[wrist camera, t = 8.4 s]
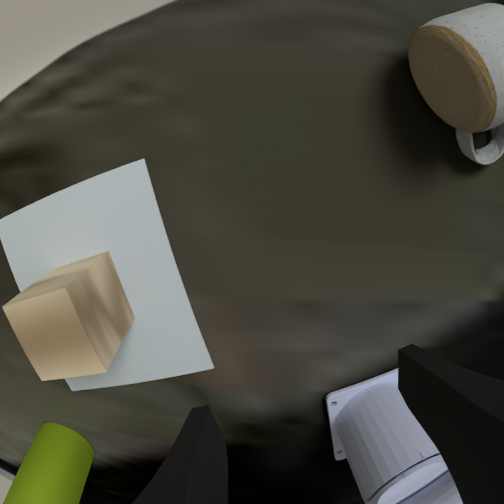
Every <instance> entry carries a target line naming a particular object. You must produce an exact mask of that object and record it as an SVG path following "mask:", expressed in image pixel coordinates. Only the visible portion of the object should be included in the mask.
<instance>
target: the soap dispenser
mask: <svg viewBox="0 0 504 504" xmlns="http://www.w3.org/2000/svg"><path fill="white" fill-rule="evenodd" d="M93 458H94V450H93V448H92V446H91V445H90V444H89V442H88V441H87V440H86V439H85V438H84V437H82V436H81V435H80V434H78V433H77V432H75V431H74V430H72V429H70V428H68V427H66V426H64V425H61V424H58V423H51V422H50V423H45V424H43V425H42V426H41V428H40V430H39V432H38V433H37V435H36V437H35V439H34V441H33V443H32V445H31V447H30V449H29V450H28V452H27V454H26V456H25V458H24V460H23V462H22V464H21V466H20V468H19V470H18V472H17V475H16V477H15V479H14V481H13V483H12V485H11V487H10V489H9V492H8V494H7V496H6V498H5V501H4V503H3V504H79V501H80V498H81V495H82V492H83V488H84V485H85V482H86V479H87V476H88V473H89V470H90V467H91V464H92V461H93Z"/></svg>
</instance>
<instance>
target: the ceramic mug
mask: <svg viewBox="0 0 504 504" xmlns="http://www.w3.org/2000/svg"><path fill="white" fill-rule="evenodd" d="M408 57H409V65H410V70H411V73H412V76H413V79H414V81H415V84H416V86H417V88H418V90H419V92H420V93H421V95H422V96H423V98H424V100H425V101H426V103H427V104H428V105H429V107H430V108H431V109H432V110H433V111H434V112H435V113H436V114H437V115H438V116H439V117H440V118H441V119H442V120H443V121H444V122H446V123H447V124H449V125H451V126H452V127H454V128H456V139H457V141H458V144H459V147H460V149H461V151H462V153H463V154H464V155H465V156H466V157H468V158H470V159H471V160H473V161H475V162H476V163H478V164H481V165H487V164H491V163H493V162H494V161H496V160H497V159H498V158H499V157H500V156H501V155H502V154H503V153H504V6H503V5H499V4H495V3H486V4H482V5H479V6H475V7H471V8H467V9H464V10H461V11H458V12H455V13H452V14H448V15H445V16H441V17H438V18H436V19H433V20H431V21H429V22H428V23H426V24H425V25H423V26H421V27H420V28H419V29H418V30H417V31H416V32H415V33H414V34H413V36H412V38H411V40H410V43H409V49H408ZM494 127H496V130H495V133H494V135H493V138H492V140H491V141H490V142H489V144H488V145H486V146H484V147H482V148H480V149H476V150H474V146H473V136H472V133H474V132H482V131H486V130H489V129H492V128H494Z"/></svg>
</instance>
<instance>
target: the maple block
mask: <svg viewBox="0 0 504 504" xmlns="http://www.w3.org/2000/svg"><path fill="white" fill-rule="evenodd" d="M3 309H4V311H5V314H6V316H7V318H8V320H9V322H10V324H11V326H12V328H13V330H14V332H15V334H16V336H17V338H18V340H19V342H20V344H21V346H22V348H23V349H24V351H25V353H26V355H27V357H28V358H29V360H30V362H31V364H32V365H33V367H34V369H35V370H36V372H37V374H38V375H39V377H40V379H41V380H42V381H46V380H55V379H63V378H71V377H79V376H86V375H93V374H100V373H106V372H107V371H108V369H109V367H110V365H111V363H112V361H113V359H114V357H115V354H116V352H117V350H118V348H119V346H120V344H121V343H122V341H123V339H124V337H125V335H126V333H127V331H128V329H129V327H130V325H131V323H132V321H133V319H134V317H135V316H134V314H133V311H132V309H131V306H130V304H129V302H128V299H127V297H126V294H125V292H124V289H123V287H122V284H121V282H120V279H119V277H118V274H117V271H116V269H115V266H114V263H113V261H112V258H111V255H110V252H109V251H106V252H102V253H99V254H96V255H93V256H90V257H87V258H84V259H81V260H78V261H75V262H72V263H69V264H66V265H63V266H60V267H57V268H54V269H52V270H51V271H49V272H48V273H46V274H45V275H44V276H42V277H41V278H40V279H38V280H37V281H35V282H34V283H33V284H31V285H30V286H29V287H27V288H26V289H25V290H23V291H22V292H21V293H20V294H18V295H17V296H16V297H14V298H13V299H12V300H11V301H9V302H8V303H7V304H5V305H4V306H3Z"/></svg>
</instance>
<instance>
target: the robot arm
mask: <svg viewBox="0 0 504 504" xmlns="http://www.w3.org/2000/svg"><path fill="white" fill-rule="evenodd" d="M332 402H334V403H332ZM326 404H327V410H328V416H329V423H330V429H331V436H332V442H333V449H334V456H335V459H336V460H342V459H345V458H347V460H348V463H349V465H350V468H351V470H352V473H353V475H354V478H355V480H356V483H357V485H358V488H359V490H360V493H361V495H362V498H363V500H364V502H365V503H366V504H504V380H500V379H496V378H492V377H488V376H485V375H482V374H479V373H476V372H473V371H471V370H468V369H465V368H463V367H461V366H458V365H456V364H454V363H451V362H449V361H447V360H445V359H443V358H440V357H438V356H436V355H434V354H432V353H430V352H428V351H426V350H424V349H422V348H420V347H418V346H416V345H413V344H411V345H408V346H406V347H404V348H401V349H399V350H398V368H397V369H394V370H392V371H389V372H387V373H384V374H382V375H379V376H376V377H374V378H371V379H369V380H366V381H363V382H360V383H358V384H355V385H352V386H349V387H346V388H343V389H340V390H337V391H334V392H331V393H329V394H328V395H327V396H326ZM132 504H228V458H227V450H226V443H225V438H224V436H223V434H222V432H221V430H220V429H219V427H218V425H217V423H216V421H215V419H214V417H213V415H212V413H211V410H210V408H209V406H208V405H207V406H202V407H196V408H192V409H191V411H190V413H189V415H188V417H187V419H186V421H185V423H184V425H183V427H182V429H181V431H180V433H179V435H178V437H177V439H176V441H175V443H174V445H173V447H172V448H171V450H170V452H169V454H168V455H167V457H166V459H165V460H164V462H163V464H162V465H161V467H160V468H159V470H158V471H157V473H156V474H155V476H154V477H153V479H152V480H151V481H150V483H149V484H148V485H147V486H146V488H145V489H144V490H143V491H142V493H141V494H140V495H139V496H138V497H137V498H136V499H135V500H134V501H133V502H132Z"/></svg>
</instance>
